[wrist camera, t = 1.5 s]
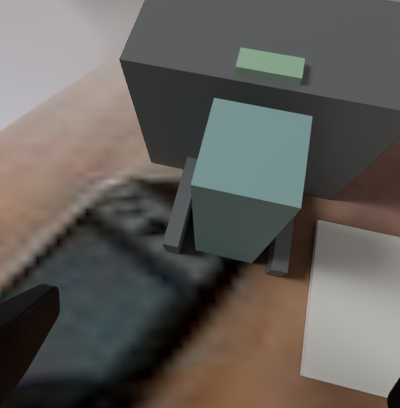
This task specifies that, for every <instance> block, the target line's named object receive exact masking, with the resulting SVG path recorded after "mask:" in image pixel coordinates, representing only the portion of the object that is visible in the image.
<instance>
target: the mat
mask: <svg viewBox="0 0 400 408" xmlns="http://www.w3.org/2000/svg"><path fill="white" fill-rule="evenodd" d="M300 375H302V376H305V377H309V378H312V379H316V380H320V381H324V382H328V383H332V384H336V385H339V386H343V387H347V388H351V389H355V390H359V391H362V392H366V393H370V394H374V395H378V396H382V397H386V398H388V394H389V392H390V391H391V389H392V388H393V386H394V385H395V383H396V382H397V380H398V379H399V377H400V237H396V236H391V235H386V234H382V233H377V232H373V231H368V230H363V229H359V228H354V227H349V226H345V225H340V224H336V223H331V222H326V221H322V220H317V221H316V225H315V235H314V245H313V254H312V264H311V274H310V283H309V293H308V303H307V313H306V322H305V332H304V342H303V351H302V361H301V371H300Z"/></svg>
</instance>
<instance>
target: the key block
mask: <svg viewBox="0 0 400 408" xmlns="http://www.w3.org/2000/svg"><path fill="white" fill-rule="evenodd" d="M312 117H313V116H308V115H303V114H298V113H292V112H287V111H282V110H276V109H271V108H266V107H260V106H255V105H250V104H244V103H239V102H234V101H228V100H223V99H218V98H214V100H213V104H212V108H211V111H210V115H209V119H208V122H207V126H206V130H205V133H204V137H203V141H202V145H201V148H200V152H199V156H198V159H197V163H196V167H195V170H194V174H193V178H192V182H191V196H192V210H193V224H194V237H195V250H197V251H201V252H205V253H210V254H214V255H218V256H222V257H227V258H231V259H235V260H240V261H244V262H248V263H253V261H254V260H255V259H256V258H257V257H258V256H259V255H260V254H261V253H262V251H263V250H264V249H265V248H266V247H267V246H268V245H269V244H270V243H271V241H272V240H273V239H274V238H275V237H276V236H277V235H278V234H279V233H280V231H281V230H282V229H283V228H284V227H285V226H286V225H287V224H288V222H289V221H290V220H291V219H292V218H293V217H294V216H295V215H296V214H297V212H298V211H299V210H300V209H301V206H302V198H303V190H304V182H305V173H306V165H307V157H308V149H309V141H310V133H311V125H312Z"/></svg>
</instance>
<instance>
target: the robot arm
mask: <svg viewBox="0 0 400 408" xmlns="http://www.w3.org/2000/svg"><path fill="white" fill-rule="evenodd" d="M59 311H60V302H59V289H58V287H56V286H53V285H49V284H40V285H38V286H35V287H33V288H31V289H29V290H27V291H24V292H22V293H20V294H18V295H16V296H13V297H11V298H9V299H7V300H4V301H2V302H0V408H1V407H2V406H3V404H4V403H5V401H6V400H7V399H8V397H9V396H10V394H11V393H12V392H13V390H14V389H15V387H16V386H17V384H18V383H19V382H20V380H21V379H22V377H23V376H24V374H25V373H26V371H27V369H28V368H29V366H30V365H31V363H32V361H33V359H34V358H35V356H36V354H37V352H38V351H39V349H40V347H41V345H42V344H43V342H44V340H45V339H46V337H47V335H48V333H49V332H50V330H51V328H52V326H53V325H54V323H55V321H56V319H57V317H58V315H59ZM387 405H388V408H400V377H399V379H398V380H397V382H396V383H395V385H394V386H393V388H392V389H391V391H390V392H389V394H388V398H387Z"/></svg>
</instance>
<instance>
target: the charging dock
mask: <svg viewBox="0 0 400 408" xmlns="http://www.w3.org/2000/svg"><path fill="white" fill-rule="evenodd" d="M119 60H120V63H121V66H122V69H123V73H124V76H125V79H126V82H127V85H128V89H129V92H130V95H131V98H132V102H133V105H134V108H135V111H136V114H137V118H138V121H139V124H140V127H141V131H142V134H143V137H144V140H145V143H146V147H147V150H148V153H149V156H150V159H151V162H154V163H159V164H163V165H168V166H173V167H178V168H182V169H184V171H183V174H182V178H181V181H180V185H179V188H178V192H177V195H176V199H175V202H174V206H173V209H172V213H171V216H170V220H169V223H168V227H167V230H166V234H165V237H164V241H163V246H164V248H165V250H166V251H170V252H174V253H179V254H180V251H181V247H182V243H183V240H184V236H185V232H186V228H187V224H188V220H189V217H190V213H191V209H192V196H191V182H192V178H193V174H194V170H195V167H196V163H197V159H198V156H199V152H200V148H201V145H202V141H203V137H204V133H205V130H206V126H207V122H208V119H209V115H210V111H211V108H212V104H213V100H214V98H218V99H223V100H228V101H234V102H239V103H244V104H250V105H255V106H260V107H266V108H271V109H276V110H282V111H287V112H292V113H298V114H303V115H308V116H313V117H312V125H311V133H310V141H309V149H308V157H307V165H306V173H305V182H304V190H303V194H306V195H311V196H316V197H321V198H325V199H330V200H332V199H333V198H334V197H336V196H337V195H338V194H339V193H340V192H341V191H342V190H343V189H344V188H345V187H346V186H348V185H349V184H350V183H351V182H352V181H353V180H354V179H355V178H356V177H357V176H358V175H360V174H361V173H362V172H363V171H364V170H365V169H366V168H367V167H368V166H369V165H370V164H372V163H373V162H374V161H375V160H376V159H377V158H378V157H379V156H380V155H381V154H382V153H383V152H385V151H386V150H387V149H388V148H389V147H390V146H391V145H392V144H393V143H394V142H395V141H397V140H398V139H399V138H400V2H394V1H387V0H145V1H144V3H143V6H142V8H141V10H140V13H139V15H138V18H137V20H136V22H135V24H134V27H133V29H132V31H131V33H130V36H129V38H128V40H127V43H126V45H125V47H124V50H123V52H122V54H121V57H120V59H119ZM294 221H295V216H294V217H293V218H292V219H291V220H290V221H289V222H288V224H287V225H286V226H285V227H284V228H283V229H282V230H281V231H280V233H279V234H278V235H277V236H276V237H275V238H274V239H273V240H272V241H271V243H270V246H269V252H268V259H267V265H266V272H265V274H268V275H272V276H277V277H281V276H283V275H285V274H287V273H288V267H289V259H290V251H291V244H292V236H293V228H294Z"/></svg>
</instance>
